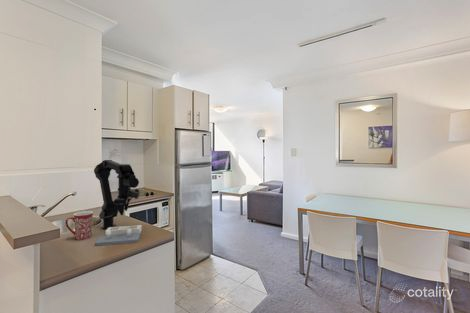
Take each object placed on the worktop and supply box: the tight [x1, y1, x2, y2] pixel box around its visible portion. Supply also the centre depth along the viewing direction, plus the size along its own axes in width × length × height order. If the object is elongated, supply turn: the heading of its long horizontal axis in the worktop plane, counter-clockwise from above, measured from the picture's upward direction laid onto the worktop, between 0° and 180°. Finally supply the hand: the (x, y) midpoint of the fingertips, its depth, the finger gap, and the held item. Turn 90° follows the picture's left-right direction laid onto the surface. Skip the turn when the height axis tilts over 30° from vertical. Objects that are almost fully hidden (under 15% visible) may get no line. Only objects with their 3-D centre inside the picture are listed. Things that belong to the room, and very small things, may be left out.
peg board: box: [94, 229, 142, 247], centre depth 120 cm, size 10×20×6 cm, turn 104°
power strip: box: [104, 224, 143, 236], centre depth 130 cm, size 6×18×3 cm, turn 104°
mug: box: [65, 210, 94, 241], centre depth 123 cm, size 13×9×14 cm
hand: (124, 212), depth 130 cm, fingers open, 9 cm apart
